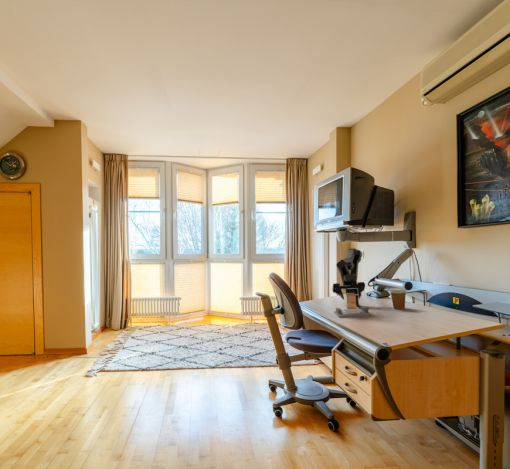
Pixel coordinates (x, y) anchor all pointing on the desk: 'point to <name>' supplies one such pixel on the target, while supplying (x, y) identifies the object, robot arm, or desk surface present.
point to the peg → (351, 300)
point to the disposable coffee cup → (398, 297)
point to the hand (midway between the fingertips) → (351, 298)
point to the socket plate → (352, 312)
